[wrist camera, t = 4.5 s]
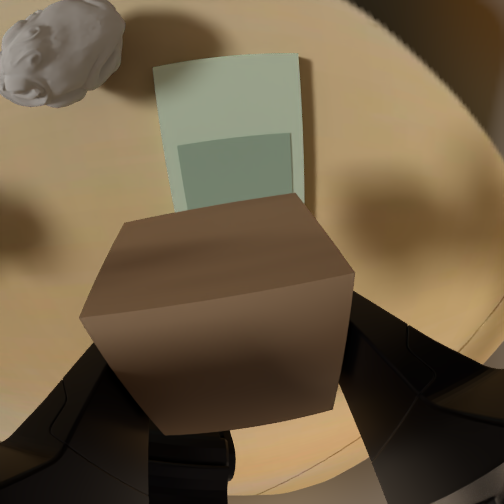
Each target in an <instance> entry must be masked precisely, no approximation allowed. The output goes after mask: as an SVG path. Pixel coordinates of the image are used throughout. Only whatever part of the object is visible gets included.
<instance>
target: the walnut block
mask: <svg viewBox="0 0 504 504" xmlns="http://www.w3.org/2000/svg"><path fill="white" fill-rule="evenodd" d="M354 277H355V272H354V271H353V269H352V268H351V266H350V265H349V263H348V262H347V261H346V259H345V258H344V256H343V255H342V254H341V252H340V251H339V250H338V248H337V247H336V245H335V244H334V243H333V241H332V240H331V239H330V237H329V236H328V235H327V233H326V232H325V231H324V229H323V228H322V227H321V225H320V224H319V223H318V221H317V220H316V219H315V217H314V216H313V215H312V213H311V212H310V211H309V209H308V208H307V207H306V206H305V204H304V203H303V202H302V200H301V199H300V198H299V197H298V195H297V194H296V193H290V194H283V195H276V196H269V197H262V198H256V199H250V200H243V201H237V202H231V203H225V204H219V205H214V206H208V207H202V208H197V209H191V210H186V211H181V212H175V213H170V214H165V215H160V216H155V217H150V218H145V219H141V220H136V221H131V222H126V223H124V225H123V226H122V228H121V230H120V232H119V234H118V236H117V238H116V240H115V241H114V243H113V245H112V247H111V249H110V251H109V253H108V255H107V257H106V259H105V261H104V263H103V265H102V267H101V269H100V272H99V274H98V276H97V278H96V280H95V282H94V284H93V287H92V289H91V291H90V293H89V296H88V298H87V300H86V302H85V305H84V307H83V309H82V312H81V314H80V317H79V319H80V320H81V322H82V324H83V326H84V327H85V329H86V331H87V332H88V334H89V335H90V337H91V339H92V340H93V342H94V343H95V345H96V346H97V348H98V349H99V351H100V353H101V354H102V356H103V357H104V358H105V360H106V361H107V363H108V364H109V366H110V367H111V369H112V370H113V371H114V373H115V374H116V376H117V377H118V378H119V380H120V381H121V382H122V384H123V385H124V387H125V388H126V389H127V390H128V392H129V393H130V394H131V396H132V397H133V398H134V400H135V401H136V402H137V403H138V405H139V406H140V407H141V408H142V409H143V411H144V412H145V413H146V414H147V416H148V417H149V418H150V419H151V420H152V421H153V423H154V424H155V425H156V426H157V427H158V428H159V429H160V431H161V432H162V433H163V434H164V435H184V434H198V433H209V432H218V431H227V430H235V429H242V428H248V427H255V426H261V425H266V424H272V423H277V422H282V421H287V420H292V419H296V418H301V417H305V416H309V415H313V414H317V413H321V412H325V411H329V410H333V406H334V402H335V397H336V392H337V388H338V383H339V378H340V373H341V367H342V362H343V356H344V350H345V344H346V338H347V332H348V325H349V318H350V311H351V303H352V295H353V287H354Z"/></svg>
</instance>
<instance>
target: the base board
mask: <svg viewBox="0 0 504 504" xmlns="http://www.w3.org/2000/svg"><path fill="white" fill-rule="evenodd" d="M153 76H154V85H155V93H156V101H157V108H158V116H159V123H160V129H161V136H162V142H163V148H164V155H165V161H166V166H167V172H168V178H169V183H170V189H171V194H172V199H173V204H174V209H175V212H181V211H186V210H191V209H197V208H202V207H208V206H214V205H219V204H225V203H231V202H237V201H243V200H250V199H256V198H262V197H269V196H276V195H283V194H290V193H296V194H297V195H298V197H299V198H300V199H301V200H302V202H303V203H304V154H303V126H302V105H301V88H300V72H299V59H298V53H269V54H247V55H233V56H222V57H213V58H205V59H197V60H190V61H184V62H178V63H172V64H167V65H162V66H157V67H153Z"/></svg>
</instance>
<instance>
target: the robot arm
mask: <svg viewBox="0 0 504 504" xmlns="http://www.w3.org/2000/svg"><path fill="white" fill-rule="evenodd" d="M407 326H408V327H407ZM339 385H340V387H341V389H342V392H343V394H344V396H345V399H346V401H347V403H348V406H349V408H350V411H351V413H352V415H353V418H354V420H355V423H356V425H357V427H358V430H359V432H360V435H361V437H362V440H363V442H364V444H365V447H366V449H367V452H368V454H369V457H370V459H371V461H372V465H373V467H374V470H375V472H376V475H377V477H378V480H379V482H380V485H381V487H382V490H383V492H384V495H385V498H386V500H387V503H388V504H504V369H496V368H491V367H487V366H484V365H482V364H480V363H478V362H476V361H474V360H472V359H470V358H468V357H466V356H464V355H462V354H460V353H458V352H456V351H454V350H452V349H450V348H448V347H446V346H444V345H442V344H441V343H439V342H437V341H435V340H433V339H431V338H430V337H428V336H426V335H425V334H423V333H421V332H420V331H418V330H416V329H415V328H413V327H412V326H410V325H407V323H405V322H403V321H402V320H400V319H398V318H397V317H395V316H394V315H392V314H390V313H389V312H387V311H386V310H384V309H382V308H381V307H379V306H377V305H376V304H374V303H373V302H371V301H369V300H368V299H366V298H364V297H363V296H361V295H359V294H358V293H356V292H355V291H353V295H352V303H351V311H350V318H349V325H348V332H347V338H346V344H345V350H344V356H343V362H342V367H341V373H340V378H339ZM235 461H236V458H235V448H234V444H233V440H232V437H231V433H230V430H227V431H218V432H209V433H198V434H184V435H164V434H163V433H162V432H161V431H160V429H159V428H158V427H157V426H156V425H155V424H154V423H153V421H152V420H151V419H150V418H149V417H148V416H147V414H146V413H145V412H144V411H143V409H142V408H141V407H140V406H139V405H138V403H137V402H136V401H135V400H134V398H133V397H132V396H131V394H130V393H129V392H128V390H127V389H126V388H125V387H124V385H123V384H122V382H121V381H120V380H119V378H118V377H117V376H116V374H115V373H114V371H113V370H112V369H111V367H110V366H109V364H108V363H107V361H106V360H105V358H104V357H103V356H102V354H101V353H100V351H99V349H98V348H97V346H96V345H95V343H93V344H92V345H91V346H90V347H89V348H88V349H87V351H86V352H85V353H84V354H83V355H82V356H81V357H80V359H79V360H78V361H77V362H76V363H75V364H74V366H73V367H72V368H71V369H70V370H69V372H68V373H67V374H66V375H65V376H64V377H63V380H61V381H60V382H59V383H58V385H57V386H56V387H55V388H54V389H53V391H52V392H51V393H50V394H49V395H48V396H47V398H46V399H45V400H44V401H43V402H42V403H41V404H40V405H39V406H38V407H37V409H36V410H35V411H34V412H33V413H32V414H31V415H30V416H29V417H28V418H27V419H26V420H25V421H24V422H23V423H22V424H21V425H20V427H19V428H18V429H17V430H16V431H15V432H14V433H13V434H12V435H11V436H10V437H9V438H8V439H6V440H5V441H3V442H1V443H0V504H228V502H227V485H228V481H231V479H232V478H233V475H234V471H235Z"/></svg>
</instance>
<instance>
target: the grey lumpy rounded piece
mask: <svg viewBox="0 0 504 504" xmlns="http://www.w3.org/2000/svg"><path fill="white" fill-rule="evenodd" d="M125 25H126V24H125V21H124V20H123V18H122V17H121V16H120V14H119V13H118V12H117V11H116V9H115V7H114V6H113V5H112V4H111V3H110V2H109V1H107V0H61V1H58V2H55V3H53V4H51V5H49V6H48V7H46V8H45V9H44V10H37V11H36V12H34V13H33V14H30V16H29V17H27V18H26V19H25V20H20V21H18V22H16V23H15V24H14V25H13V26H12V27H11V28H10V29H9V30H8V31H7V32H6V33H5V35H4V36H3V39H2V51H1V52H0V94H1V95H2V96H3V97H5V98H6V99H8V100H10V101H12V102H13V103H15V104H18V105H21V106H28V107H35V106H42V105H47V106H50V107H54V108H60V107H65V106H69V105H71V104H73V103H75V102H78V101H80V100H82V99H83V98H84V97H85V95H86V93H87V90H89V91H90V90H94V89H96V88H98V87H99V86H101V85H102V84H103V83H104V82H105V81H106V80H107V79H108V78H109V77H110V75H112V74H113V73H114V72H115V71H116V70H117V69H118V68H119V66H120V64H121V52H122V45H123V38H122V35H123V33H124V31H125Z"/></svg>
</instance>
